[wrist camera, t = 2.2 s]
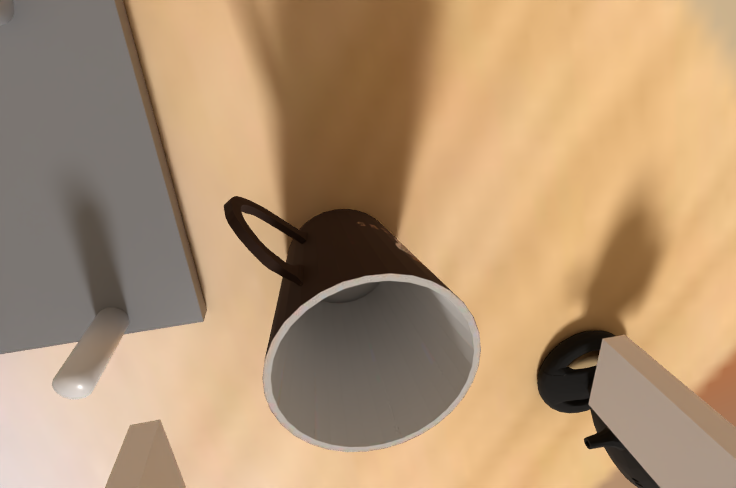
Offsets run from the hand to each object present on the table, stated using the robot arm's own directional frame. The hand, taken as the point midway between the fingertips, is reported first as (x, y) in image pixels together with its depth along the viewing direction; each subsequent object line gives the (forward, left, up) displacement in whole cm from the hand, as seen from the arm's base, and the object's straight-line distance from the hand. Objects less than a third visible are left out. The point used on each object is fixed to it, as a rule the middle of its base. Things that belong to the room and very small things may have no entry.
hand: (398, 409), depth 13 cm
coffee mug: (0, 0, -14) cm, 14 cm away
